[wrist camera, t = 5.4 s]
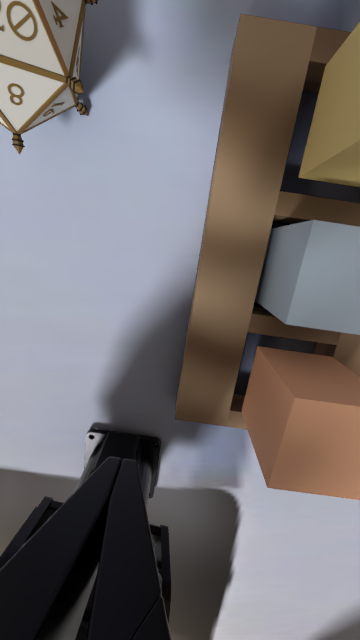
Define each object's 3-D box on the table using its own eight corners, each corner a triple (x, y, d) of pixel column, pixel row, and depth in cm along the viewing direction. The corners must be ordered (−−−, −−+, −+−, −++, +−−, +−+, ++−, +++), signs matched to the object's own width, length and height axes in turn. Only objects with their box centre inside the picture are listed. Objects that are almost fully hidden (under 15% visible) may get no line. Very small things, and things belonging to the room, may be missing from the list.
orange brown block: (310, 420, 18) (368, 501, 13) (241, 411, 18) (267, 487, 12) (332, 356, 17) (407, 413, 11) (257, 345, 17) (294, 397, 11)
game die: (88, 88, 19) (147, -98, 11) (69, 197, 18) (117, 91, 10) (-78, -16, 14) (-212, -507, 6) (-113, 127, 13) (-324, -198, 5)
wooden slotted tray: (338, 423, 22) (356, 444, 20) (176, 401, 22) (174, 419, 19) (462, 87, 15) (510, 59, 13) (232, 49, 15) (240, 13, 13)
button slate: (321, 310, 19) (381, 338, 13) (254, 300, 19) (285, 324, 13) (343, 239, 18) (421, 236, 12) (271, 228, 17) (313, 219, 12)
